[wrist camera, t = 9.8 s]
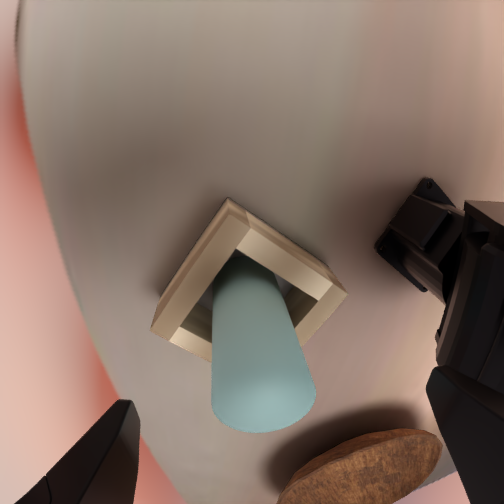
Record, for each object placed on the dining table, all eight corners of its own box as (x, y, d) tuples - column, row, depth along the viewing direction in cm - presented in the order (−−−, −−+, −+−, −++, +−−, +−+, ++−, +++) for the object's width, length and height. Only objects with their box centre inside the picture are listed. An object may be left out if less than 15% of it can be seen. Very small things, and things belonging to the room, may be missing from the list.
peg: (288, 276, 21) (336, 386, 11) (252, 321, 22) (273, 441, 12) (237, 243, 20) (252, 347, 10) (201, 293, 21) (192, 412, 11)
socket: (327, 265, 21) (348, 294, 18) (257, 349, 23) (263, 386, 19) (227, 196, 19) (229, 213, 15) (160, 296, 21) (149, 330, 17)
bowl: (435, 374, 27) (459, 406, 23) (415, 466, 35) (427, 490, 31) (249, 438, 27) (254, 480, 23) (289, 509, 36) (295, 536, 31)
